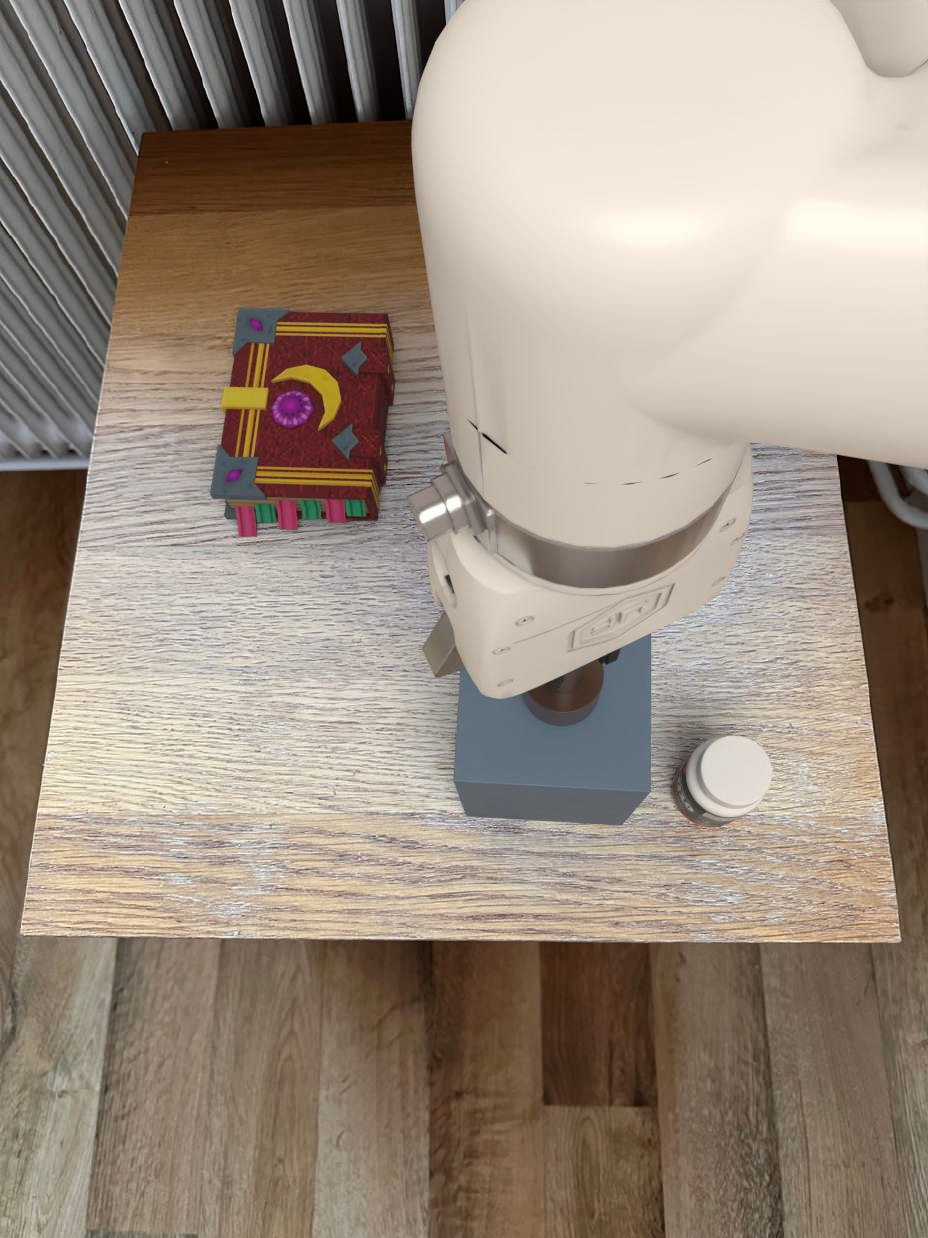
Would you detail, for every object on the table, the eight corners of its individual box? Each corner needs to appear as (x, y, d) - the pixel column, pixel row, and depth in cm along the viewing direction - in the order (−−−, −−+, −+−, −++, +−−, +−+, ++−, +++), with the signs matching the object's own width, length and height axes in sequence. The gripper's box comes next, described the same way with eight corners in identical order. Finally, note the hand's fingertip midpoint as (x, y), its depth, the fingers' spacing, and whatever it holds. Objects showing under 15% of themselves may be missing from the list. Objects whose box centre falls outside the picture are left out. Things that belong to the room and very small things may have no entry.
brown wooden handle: (600, 653, 51) (624, 560, 39) (599, 728, 50) (622, 656, 38) (524, 649, 51) (523, 556, 39) (520, 724, 50) (518, 652, 38)
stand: (624, 674, 66) (651, 604, 52) (622, 825, 62) (650, 792, 49) (475, 667, 66) (465, 597, 53) (466, 816, 63) (453, 781, 50)
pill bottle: (669, 754, 64) (691, 726, 56) (743, 755, 63) (775, 728, 56) (672, 828, 62) (694, 810, 54) (747, 830, 62) (781, 812, 54)
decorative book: (398, 346, 75) (390, 305, 70) (380, 541, 70) (371, 511, 65) (252, 343, 75) (235, 302, 71) (224, 535, 70) (203, 506, 66)
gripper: (380, 696, 24) (441, 801, 42) (929, 436, 26) (766, 643, 43) (270, 457, 27) (371, 650, 44) (778, 230, 28) (682, 505, 46)
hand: (566, 645), depth 44 cm, fingers closed on brown wooden handle, 2 cm apart
